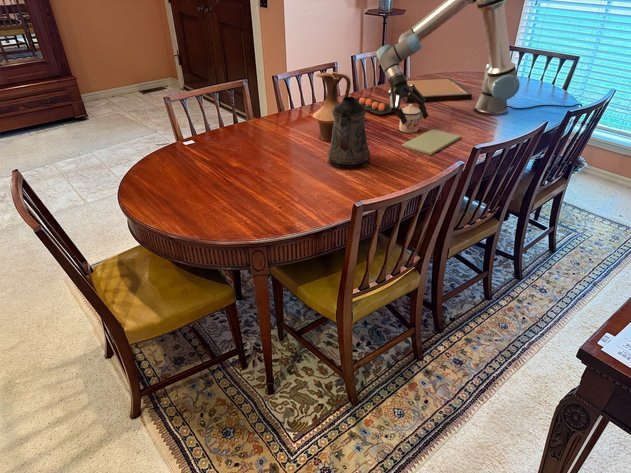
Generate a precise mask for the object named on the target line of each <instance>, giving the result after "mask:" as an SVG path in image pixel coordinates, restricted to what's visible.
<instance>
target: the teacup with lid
mask: <svg viewBox="0 0 631 473" xmlns="http://www.w3.org/2000/svg"><path fill="white" fill-rule="evenodd" d="M401 109H402V111H403V113H404V115H405V118H406V120H407V122H406V123H405V124H402V122H401V120H400V119H399V127H398V130H399V131H400V132H402V133H407V134H413V133H417V132H418V131H419V127H420V122H421V121H422V119H423V114H422V112H421V111H420V109H419V107H416V106H414V103H408V106H405V107H401Z"/></svg>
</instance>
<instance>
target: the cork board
mask: <svg viewBox="0 0 631 473" xmlns="http://www.w3.org/2000/svg"><path fill="white" fill-rule="evenodd" d="M407 84H408V86H411V85H412V84H414V85H415V87H416V89H417V90H418V91H419V92H420V93H421V94H422V95H423V97H424V98H425V99H426V102H425V103H433V102H435V103H437V102H449V101H450V102H453V101H469V100H470V101H471V100H472V99H473V94H472V93H471V92H470V91H469V90H467V89H465V88H464V87H463V86H462V85H460V84H459V83H457V82H456V81H454V80H453V79H452V78H451V77H441V78H423V79H407ZM409 94H410V93H409ZM402 100H404V102H405V103H406V104H417V103H416V102H414V101H413V100H412V99H410V98H408V97H403V98H402Z"/></svg>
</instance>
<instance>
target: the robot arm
mask: <svg viewBox="0 0 631 473" xmlns="http://www.w3.org/2000/svg"><path fill="white" fill-rule="evenodd" d="M506 2H507V0H444V1H443V2H441V3H440V4H439V5H438V6H437V7H435V8H434V9H433V10H431V11H430V12H429V13H428V14H426V16H424V17H423V18H422V19H420V20H419V21H418V22H417V23H415V24H414V25H413V26H412V27H411V28H410V29H408V30H407V31H404V32H403V33H401V34H400V36H399V37H398V43H396V44H395V45H393V46H392V45H391V44H385V45H382V46H381V47H379V48H378V50H377V51H376V57H377V59H378V62H379V64H380V66H381V69H382V71H383V73H384V75H385V77H386V79H387V81H388V82H389V85H390V89H389V90H388V91H387V94H388V96H389V104H390V109H391V111H393V112H392V113H395V114H396V116H397V118H399V121H400V120H401V122H402V124H405V123H406V122H407V120H406V118H405V115H404V113H403V111H402V108H400V107H401V101H402V99H403V97H408V98H410V99H412V100H413V101H414V102H416V103H415V104H417V105H418V107H417V108H418V109H420V111H421V112H422V114H423V116H422V119H424V120H426V119H427V118H428V117H429V116H430V115H429V113H428V111H427V107H426V105H425V103H427V102H426V99H425V98H424V97H423V95H422V94H421V93H420V92H419V91H418V90H417V89H416V87H415V85H414V84H412V85H411V86H408V84H407V80H408V79H407V77H406V75H405V74H404V71H403V69H402V66H401V64H400V63H401V62H403V61H405V60H406V59H408V58H409V57H411V56H413V55H414V54H417V52H419V51H420V50H422V48H423V44H422V41H423V40H425V39H426V38H428V37H429V36H430V35H431V34H432V33H433V32H435V31H437V29H439V28H440V27H441V26H442V25H444V24H445V23H446V22H448V21H450V20H451V19H452V18H453V17H455V16H456V15H457V14H458V13H459V12H461V11H462V10H463V9H465V8H466V7H468V5H471V4H472V5H473V4H475V3H476V5H477V9H478V10H480V11H481V13H482V21H483V26H484V34H485V42H486V47H487V53H488V54H487V55H488V61H489V62H488V63H487V64H486V66H485V69H484V76H483V82H482V87H481V93H480V96H479V97H478V100H477V102H476V103H475V105H474V111H475V113H478V114H481V115H484V116H493V117H494V116H495V117H496V116H503V115H506V114H507V112H508V108H509V109H512V110H530V109H534V108H539V107H540V108H541V107H558V108H574V107H577V106H580V107H584V105H583V104H582V103H576V104H573V105H564V104H537V105H533V106H526V107H513V106H511V105H508V100H510V99H512V98H513V97H515V95H517V93H518V92H519V90H520V87H521V86H520V85H521V83H520V80H519V78H518V76H517V67H516V63H514V62H513V61H512V58H511V51H510V43H509V34H508V25H507V17H506V10H505V3H506ZM409 93H410V94H409Z"/></svg>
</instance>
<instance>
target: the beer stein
mask: <svg viewBox="0 0 631 473" xmlns="http://www.w3.org/2000/svg"><path fill="white" fill-rule="evenodd" d="M355 98H356V97H353V96H348V97H343V98H342V100H341V102H339V104H338V105H337V106H336V107H335V108H334V109H333V111H332V114H333V117H334V124H333V131H332V140H331V141H330V146H329V150H328V152H327V157H328V163H329V164H330V165H331V166H332V167H334V168H336V169H339V170H340V169H341V170H349V171H350V170H357V169H361V168H365V167H366V166H367V165H368V164H369V161H370V157H371V151H370V149H369V146H368V141H367V140H368V139H367V134H366V132H367V131H366V126H365V120H364V118H365V115H366V112H367V110H365V109H364V107H363V106H362V105H360V104H359V103H358V102H357V101H356V100H355Z"/></svg>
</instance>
